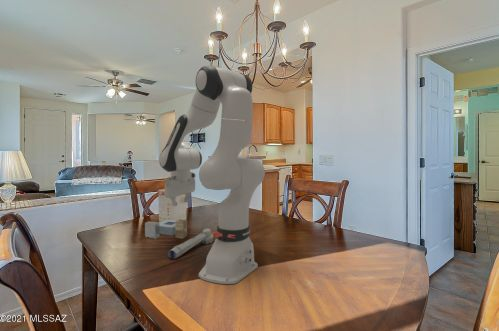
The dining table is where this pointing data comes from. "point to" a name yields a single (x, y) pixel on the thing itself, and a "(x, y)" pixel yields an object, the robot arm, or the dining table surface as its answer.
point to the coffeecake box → (171, 207)
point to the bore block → (167, 227)
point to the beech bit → (181, 228)
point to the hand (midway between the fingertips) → (180, 204)
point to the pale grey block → (152, 229)
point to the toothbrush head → (191, 243)
